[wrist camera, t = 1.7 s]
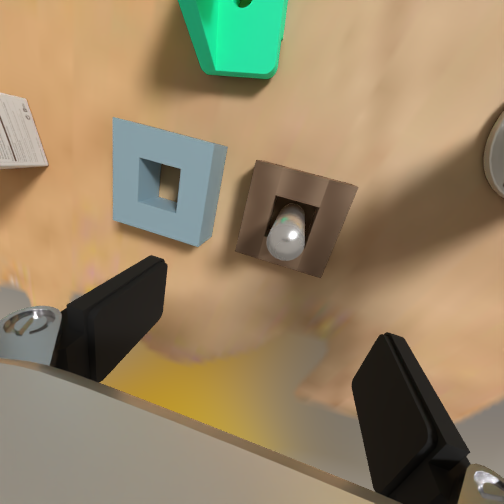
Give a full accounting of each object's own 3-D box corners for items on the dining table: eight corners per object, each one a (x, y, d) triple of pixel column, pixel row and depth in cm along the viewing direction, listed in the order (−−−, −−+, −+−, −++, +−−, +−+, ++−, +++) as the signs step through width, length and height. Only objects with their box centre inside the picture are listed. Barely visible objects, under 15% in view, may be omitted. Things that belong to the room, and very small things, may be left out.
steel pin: (308, 207, 29) (309, 231, 19) (300, 231, 30) (297, 265, 20) (283, 200, 29) (272, 220, 19) (276, 224, 30) (262, 254, 20)
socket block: (227, 146, 28) (214, 143, 24) (211, 236, 33) (198, 246, 29) (139, 123, 30) (112, 117, 25) (136, 213, 34) (113, 220, 30)
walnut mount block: (352, 184, 27) (358, 187, 24) (319, 266, 31) (320, 278, 28) (261, 160, 28) (256, 159, 25) (242, 242, 32) (235, 251, 29)
